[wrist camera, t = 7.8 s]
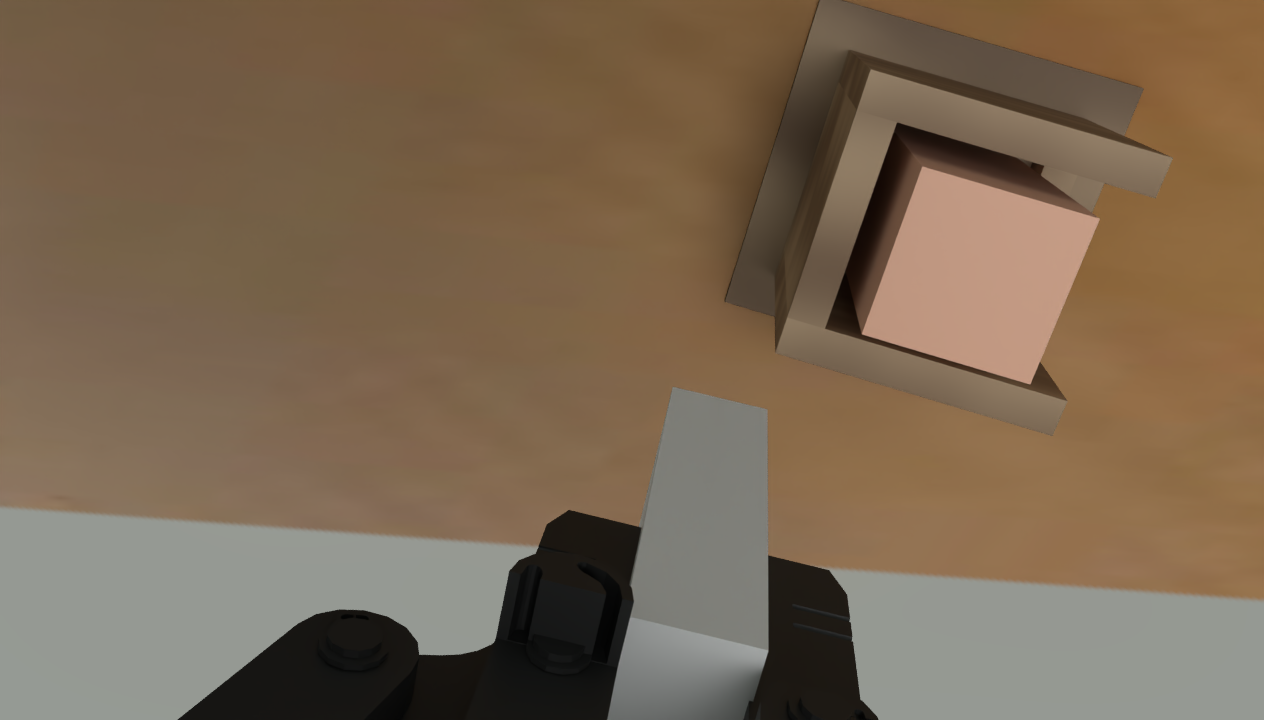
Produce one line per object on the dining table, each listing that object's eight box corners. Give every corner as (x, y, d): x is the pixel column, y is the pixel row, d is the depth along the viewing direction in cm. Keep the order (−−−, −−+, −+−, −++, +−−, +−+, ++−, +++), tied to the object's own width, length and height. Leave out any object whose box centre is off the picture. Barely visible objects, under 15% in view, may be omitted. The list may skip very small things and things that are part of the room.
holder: (821, -6, 42) (836, -1, 33) (1138, 87, 42) (1250, 120, 32) (725, 297, 46) (713, 383, 37) (1015, 384, 46) (1081, 494, 36)
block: (883, 118, 43) (922, 166, 32) (1015, 156, 42) (1099, 218, 32) (839, 246, 44) (861, 334, 33) (966, 283, 44) (1030, 384, 33)
